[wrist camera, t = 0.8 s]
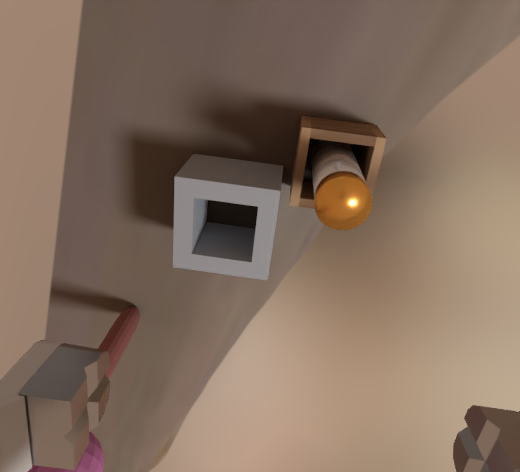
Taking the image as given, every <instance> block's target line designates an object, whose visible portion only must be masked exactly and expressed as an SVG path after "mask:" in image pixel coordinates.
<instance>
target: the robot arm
mask: <svg viewBox="0 0 520 472" xmlns="http://www.w3.org/2000/svg"><path fill="white" fill-rule="evenodd" d="M109 366H110V356H109V353H108V352H107V351H106V350H100V349H94V348H89V347H83V346H77V345H71V344H65V343H63V344H62V343H57V342H51V341H46V340H40V341H38V342H36V343H35V344H34V345H33V346H32V347H31V348H30V349H29V350H28V351H27V352H26V353H25V354H24V355H23V356H22V357H21V358H20V360H19V361H18V362H17V363H16V364H15V365H14V366H13V367H12V368H11V369H10V370H9V372H8V373H7V374H6V375H5V376H4V377H3V378H2V379H1V380H0V472H27V471H29V470H30V469H31V468H32V465H36V466H45V467H53V468H61V469H70V470H75V468H76V466H77V465H78V463H79V461H80V459H81V457H82V455H83V453H84V452H85V450H86V448H87V446H88V444H89V431H90V430H91V429H93V428H95V427H96V426H98V425H99V423H100V421H101V419H102V417H103V415H104V413H105V410H106V407H107V404H108V401H109V394H110V380H109V379H108V378H107V376H106V375H105V373H106V371H107V370H108V368H109ZM464 419H465V421H466V423H467V426H468V427H466V428H465V429H463V430H462V431H460V432H459V433H458V434H457V437H456V439H455V442H454V448H453V459H454V463H455V468H456V471H457V472H520V411H519V412H516V411H511V410H504V409H497V408H490V407H483V406H475V405H473V406H472V407H471V408H470V409H468V411H467V413H466V415H465V418H464Z"/></svg>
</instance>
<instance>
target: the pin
mask: <svg viewBox="0 0 520 472" xmlns="http://www.w3.org/2000/svg"><path fill="white" fill-rule="evenodd" d="M311 164H312V176H313V188H314V200H315V210H316V213H317V216H318V218H319V219H320V220H321V221H322V223H324V224H325V225H326V226H328V227H330V228H333V229H337V230H348V229H352V228H355V227H357V226H359V225H360V224H361V223H363V222H364V221H365V220H366V219H367V217H368V215H369V213H370V212H371V209H372V196H371V193H370V191H369V189H368V186H367V184H366V182H365V179H364V177H363V174H362V172H361V170H360V167H359V165H358V163H357V160H356V158H355V155H354V153H353V151H352V148H351V146H350V145H349V143H343V142H335V141H328V140H320V141H319V142H318V143H317V144H316V145H315V146H314V148H313V150H312V153H311Z"/></svg>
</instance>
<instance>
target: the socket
mask: <svg viewBox="0 0 520 472" xmlns="http://www.w3.org/2000/svg"><path fill="white" fill-rule="evenodd" d="M282 175H283V166H282V165H275V164H267V163H260V162H252V161H245V160H238V159H230V158H223V157H215V156H208V155H200V154H193V155H192V156H191V157H190V158H189V160H188V161H187V162H186V163H185V164H184V166H183V167H182V168H181V169H180V170H179V172H178V173H177V174H176V175H175V178H174V239H173V267H177V268H184V269H191V270H198V271H205V272H212V273H219V274H226V275H233V276H240V277H247V278H254V279H261V280H268V275H269V268H270V261H271V254H272V247H273V240H274V233H275V226H276V219H277V212H278V205H279V199H280V192H281V183H282ZM208 200H213V201H220V202H228V203H235V204H242V205H250V206H257V207H258V213H257V221H256V229H254V228H247V227H240V226H232V225H225V224H218V223H211V222H207V209H208Z"/></svg>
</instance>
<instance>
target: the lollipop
mask: <svg viewBox="0 0 520 472" xmlns="http://www.w3.org/2000/svg"><path fill="white" fill-rule="evenodd" d="M139 318H140V314H139V310H138V309H137V308H136V307H134V306H133V307H129V308H127V309H126V310H124V311H123V312H122V313H121V315H120V316H119V317H118V318H117V320H116V321H115V323H114V324H113V326H112V327H111V329H110V330H109V332H108V334H107V335H106V337H105V339H104V340H103V342H102V343H101V345H100V346H99V348H98V349H100V350H106V351H107V352H108V353H109V356H110V366H109V368H108V370H107V371H106V373H105V375H106V376H107V378H108V379H109V378H110V376H111V374H112V372H113V371H114V369H115V367H116V365H117V363H118V361H119V359H120V358H121V356H122V354H123V352H124V350H125V348H126V346H127V345H128V343H129V341H130V339H131V337H132V335H133V333H134V332H135V330H136V327H137V325H138V322H139ZM103 464H104V454H103V449H102V446H101V444H100V442H99V441H98V439H97V438H96V437H95V436H94V435H93V434H92V433H91V432H89V444H88V446H87V448H86V450H85V452H84V453H83V455H82V457H81V459H80V461H79V463H78V465H77V466H76V468H75V470H70V469H61V468H53V467H45V466H36V465H32V468H31V469H30V470H29V471H27V472H103Z"/></svg>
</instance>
